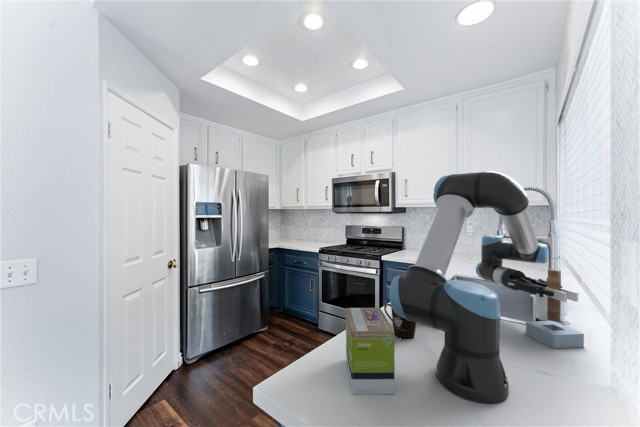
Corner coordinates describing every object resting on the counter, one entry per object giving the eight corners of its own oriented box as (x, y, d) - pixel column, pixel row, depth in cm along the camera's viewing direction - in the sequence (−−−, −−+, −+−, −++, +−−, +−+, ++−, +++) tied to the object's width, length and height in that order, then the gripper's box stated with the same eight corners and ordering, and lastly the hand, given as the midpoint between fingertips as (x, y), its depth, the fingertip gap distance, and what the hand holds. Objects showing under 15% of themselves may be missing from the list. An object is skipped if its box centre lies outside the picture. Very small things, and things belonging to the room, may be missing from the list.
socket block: (554, 348, 83) (554, 335, 83) (525, 333, 93) (526, 321, 93) (583, 346, 84) (583, 333, 84) (552, 332, 94) (552, 320, 94)
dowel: (553, 322, 86) (554, 271, 86) (544, 318, 90) (545, 269, 89) (563, 321, 87) (563, 271, 87) (553, 317, 90) (554, 269, 90)
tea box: (344, 359, 76) (345, 306, 76) (381, 359, 76) (381, 306, 76) (350, 395, 61) (351, 329, 61) (395, 396, 61) (396, 330, 61)
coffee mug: (423, 340, 88) (423, 308, 87) (399, 342, 86) (399, 311, 85) (403, 325, 99) (404, 297, 99) (381, 327, 97) (382, 299, 97)
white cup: (565, 324, 101) (565, 296, 101) (541, 322, 102) (541, 295, 102) (552, 316, 109) (552, 290, 108) (529, 314, 110) (529, 289, 110)
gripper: (528, 287, 107) (595, 308, 84) (490, 288, 105) (546, 310, 82) (529, 268, 107) (595, 284, 83) (490, 269, 105) (547, 285, 82)
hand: (571, 297), depth 83 cm, fingers closed on dowel, 3 cm apart
